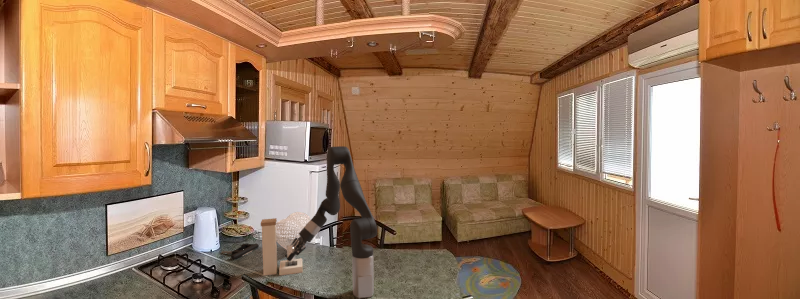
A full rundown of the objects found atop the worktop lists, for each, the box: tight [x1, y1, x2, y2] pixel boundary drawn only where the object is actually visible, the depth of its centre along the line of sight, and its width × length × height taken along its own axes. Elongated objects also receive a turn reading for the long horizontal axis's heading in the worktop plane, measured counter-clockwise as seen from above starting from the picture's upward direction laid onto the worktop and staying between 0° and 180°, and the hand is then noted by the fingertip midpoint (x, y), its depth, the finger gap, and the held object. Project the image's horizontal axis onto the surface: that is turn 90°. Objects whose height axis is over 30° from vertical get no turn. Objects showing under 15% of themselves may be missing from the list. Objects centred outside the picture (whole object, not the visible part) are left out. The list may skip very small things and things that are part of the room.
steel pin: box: [286, 244, 296, 267], centre depth 163 cm, size 4×4×11 cm
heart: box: [276, 211, 312, 251], centre depth 185 cm, size 28×16×22 cm, turn 173°
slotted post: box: [260, 217, 304, 276], centre depth 161 cm, size 11×19×27 cm, turn 108°
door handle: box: [221, 242, 260, 261], centre depth 187 cm, size 3×20×16 cm
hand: (287, 258), depth 162 cm, fingers closed on steel pin, 4 cm apart
